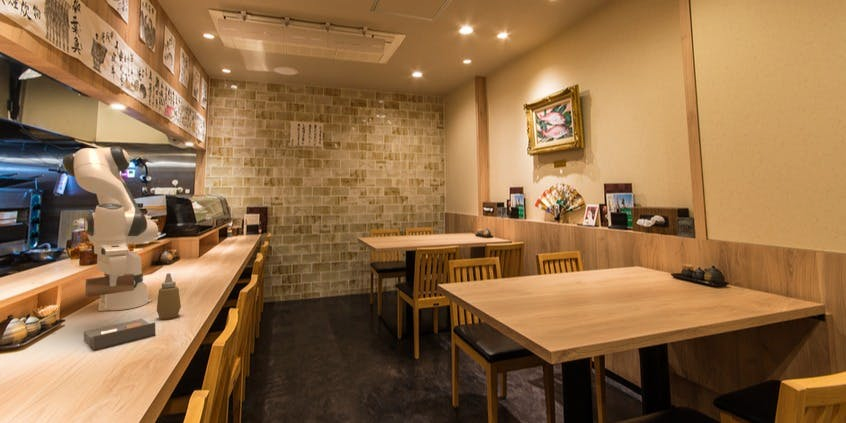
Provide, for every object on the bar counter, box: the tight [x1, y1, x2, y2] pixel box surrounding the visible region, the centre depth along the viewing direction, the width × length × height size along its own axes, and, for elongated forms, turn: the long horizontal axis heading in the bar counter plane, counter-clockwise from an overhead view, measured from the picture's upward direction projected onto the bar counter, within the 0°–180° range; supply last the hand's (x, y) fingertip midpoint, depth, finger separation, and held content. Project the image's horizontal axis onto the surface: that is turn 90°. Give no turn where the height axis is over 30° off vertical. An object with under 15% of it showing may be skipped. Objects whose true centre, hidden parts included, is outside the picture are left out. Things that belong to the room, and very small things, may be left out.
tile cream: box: [100, 329, 117, 335], centre depth 116 cm, size 4×4×2 cm
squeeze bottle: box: [156, 273, 182, 320], centre depth 142 cm, size 8×8×18 cm
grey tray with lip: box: [83, 318, 156, 352], centre depth 120 cm, size 14×16×4 cm
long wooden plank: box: [85, 274, 134, 298], centre depth 128 cm, size 3×13×6 cm, turn 145°
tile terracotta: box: [125, 322, 141, 329], centre depth 121 cm, size 4×4×2 cm
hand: (110, 284), depth 128 cm, fingers closed on long wooden plank, 3 cm apart
